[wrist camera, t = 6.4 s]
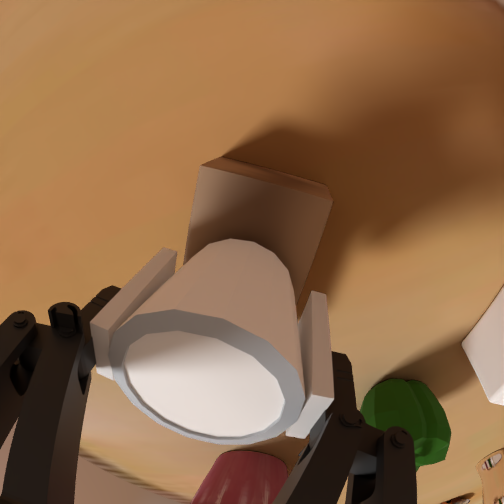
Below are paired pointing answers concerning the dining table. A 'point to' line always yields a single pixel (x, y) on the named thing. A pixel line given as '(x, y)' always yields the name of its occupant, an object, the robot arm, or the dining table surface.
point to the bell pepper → (410, 416)
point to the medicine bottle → (489, 350)
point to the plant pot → (242, 479)
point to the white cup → (216, 348)
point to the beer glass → (492, 477)
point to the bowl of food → (458, 501)
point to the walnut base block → (259, 213)
